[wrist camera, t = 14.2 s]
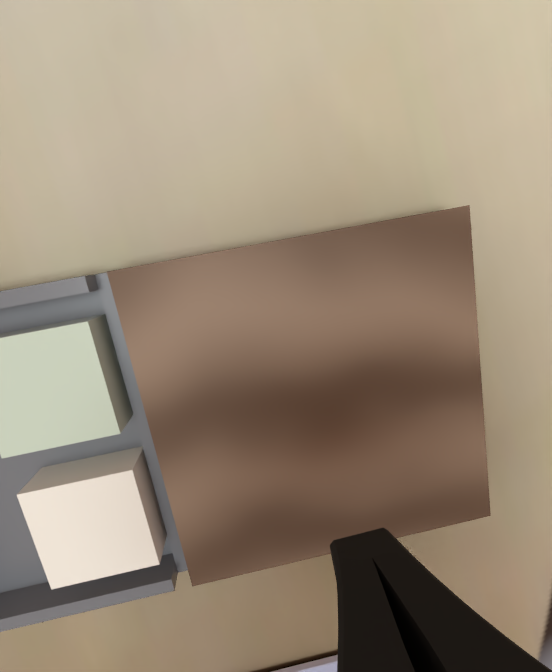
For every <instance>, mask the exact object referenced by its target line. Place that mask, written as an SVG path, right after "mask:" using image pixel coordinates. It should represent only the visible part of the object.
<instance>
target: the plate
mask: <svg viewBox="0 0 552 672" xmlns="http://www.w3.org/2000/svg"><path fill="white" fill-rule="evenodd" d="M107 275H108V279H109V282H110V286H111V290H112V293H113V297H114V301H115V304H116V308H117V312H118V315H119V319H120V323H121V326H122V330H123V334H124V337H125V341H126V345H127V348H128V352H129V356H130V359H131V363H132V367H133V370H134V374H135V378H136V381H137V385H138V389H139V392H140V396H141V400H142V403H143V407H144V411H145V414H146V418H147V422H148V425H149V429H150V433H151V436H152V440H153V443H154V447H155V451H156V454H157V458H158V462H159V465H160V469H161V473H162V476H163V480H164V484H165V487H166V491H167V495H168V498H169V502H170V506H171V509H172V513H173V517H174V520H175V524H176V528H177V531H178V535H179V539H180V542H181V546H182V550H183V553H184V557H185V561H186V564H187V568H188V572H189V575H190V579H191V583H192V586H196V585H200V584H204V583H208V582H213V581H217V580H221V579H225V578H229V577H234V576H238V575H242V574H246V573H251V572H255V571H259V570H263V569H267V568H272V567H276V566H280V565H284V564H289V563H293V562H297V561H301V560H305V559H310V558H314V557H318V556H322V555H326V554H331V550H330V544H331V543H332V541H333V540H336V539H340V538H344V537H348V536H352V535H356V534H360V533H364V532H368V531H372V530H375V529H379V528H385V529H387V530H388V531H389V532H390V533H391V534H392V535H393V536H394V537H395V538H398V537H402V536H407V535H411V534H415V533H419V532H423V531H428V530H432V529H436V528H440V527H445V526H449V525H453V524H457V523H461V522H466V521H470V520H474V519H478V518H483V517H487V516H490V501H489V486H488V471H487V457H486V442H485V427H484V413H483V398H482V383H481V369H480V354H479V339H478V324H477V310H476V295H475V280H474V266H473V251H472V236H471V222H470V207H469V205H468V206H463V207H457V208H452V209H446V210H441V211H436V212H430V213H425V214H419V215H414V216H408V217H403V218H397V219H392V220H386V221H381V222H376V223H370V224H365V225H359V226H354V227H348V228H343V229H337V230H332V231H327V232H321V233H316V234H310V235H305V236H299V237H294V238H288V239H283V240H278V241H272V242H267V243H261V244H256V245H250V246H245V247H239V248H234V249H228V250H223V251H218V252H212V253H207V254H201V255H196V256H190V257H185V258H179V259H174V260H169V261H163V262H158V263H152V264H147V265H141V266H136V267H130V268H125V269H119V270H114V271H109V272H107Z"/></svg>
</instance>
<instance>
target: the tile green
mask: <svg viewBox="0 0 552 672" xmlns="http://www.w3.org/2000/svg"><path fill="white" fill-rule="evenodd" d="M132 415H133V411H132V407H131V403H130V400H129V396H128V393H127V389H126V386H125V382H124V378H123V375H122V371H121V368H120V364H119V361H118V357H117V354H116V350H115V346H114V343H113V339H112V336H111V332H110V329H109V325H108V321H107V318H106V314H101V315H96V316H91V317H85V318H80V319H75V320H70V321H64V322H59V323H54V324H49V325H43V326H38V327H33V328H27V329H22V330H17V331H12V332H6V333H1V334H0V455H1V458H7V457H12V456H17V455H21V454H26V453H31V452H36V451H41V450H45V449H50V448H55V447H60V446H64V445H69V444H74V443H79V442H83V441H88V440H93V439H98V438H103V437H107V436H112V435H117V434H121V432H122V431H123V429H124V428H125V426H126V425H127V423H128V421H129V420H130V418H131V417H132Z"/></svg>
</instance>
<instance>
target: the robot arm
mask: <svg viewBox="0 0 552 672" xmlns="http://www.w3.org/2000/svg"><path fill="white" fill-rule="evenodd" d="M330 550H331V555H332V560H333V565H334V570H335V575H336V580H337V592H338V655H334V656H330V657H326V658H323V659H319V660H315V661H311V662H307V663H303V664H299V665H295V666H291V667H287V668H283V669H279V670H275V671H271V672H552V670H550V669H549V668H547V667H546V666H545V665H543V664H542V663H540V662H539V661H538V660H536V659H535V658H534V657H532V656H531V655H530V654H528V653H527V652H526V651H524V650H523V649H522V648H520V647H519V646H518V645H516V644H515V643H514V642H512V641H511V640H510V639H509V638H507V637H506V636H505V635H503V634H502V633H501V632H500V631H498V630H497V629H496V628H495V627H493V626H492V625H491V624H490V623H488V622H487V621H486V620H485V619H483V618H482V617H481V616H480V615H479V614H477V613H476V612H475V611H474V610H473V609H471V608H470V607H469V606H468V605H467V604H465V603H464V602H463V601H462V600H461V599H460V598H459V597H457V596H456V595H455V594H454V593H453V592H452V591H451V590H449V589H448V588H447V587H446V586H445V585H444V584H443V583H442V582H440V581H439V580H438V579H437V578H436V577H435V576H434V575H433V574H432V573H430V572H429V571H428V570H427V569H426V568H425V567H424V566H423V565H422V564H421V563H420V562H419V561H418V560H417V559H416V558H415V557H414V556H413V555H412V554H411V553H410V552H409V551H408V550H407V549H406V548H405V547H404V546H403V545H402V544H401V543H400V542H399V541H398V540H397V539H396V538H395V537H394V536H393V535H392V534H391V533H390V532H389V531H388V530H387V529H385V528H379V529H375V530H372V531H368V532H364V533H360V534H356V535H352V536H348V537H344V538H340V539H336V540H333V541H332V543H331V544H330Z"/></svg>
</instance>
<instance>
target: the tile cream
mask: <svg viewBox="0 0 552 672" xmlns="http://www.w3.org/2000/svg"><path fill="white" fill-rule="evenodd" d="M17 498H18V500H19V503H20V506H21V508H22V511H23V514H24V517H25V519H26V522H27V525H28V527H29V530H30V533H31V536H32V538H33V541H34V544H35V546H36V549H37V552H38V555H39V557H40V560H41V563H42V565H43V568H44V571H45V574H46V576H47V579H48V582H49V585H50V587H51V590H52V589H56V588H60V587H65V586H69V585H73V584H78V583H82V582H86V581H90V580H95V579H99V578H103V577H108V576H112V575H116V574H121V573H125V572H129V571H134V570H138V569H142V568H147V567H151V566H155V565H160V561H161V557H162V553H163V549H164V545H165V541H166V537H167V532H166V528H165V525H164V521H163V518H162V514H161V511H160V507H159V503H158V500H157V496H156V493H155V489H154V486H153V482H152V478H151V475H150V471H149V468H148V464H147V461H146V457H145V453H144V450H143V446H141V447H137V448H132V449H127V450H122V451H118V452H113V453H108V454H104V455H99V456H94V457H89V458H85V459H80V460H75V461H71V462H66V463H61V464H56V465H52V466H47V467H42V468H41V469H40V470H39V471H38V472H37V473H36V474H35V475H34V477H33V478H32V479H31V480H30V481H29V482H28V483H27V484H26V485H25V486H24V487H23V488H22V489H21V491H20V492H19V493H18V494H17Z"/></svg>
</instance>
